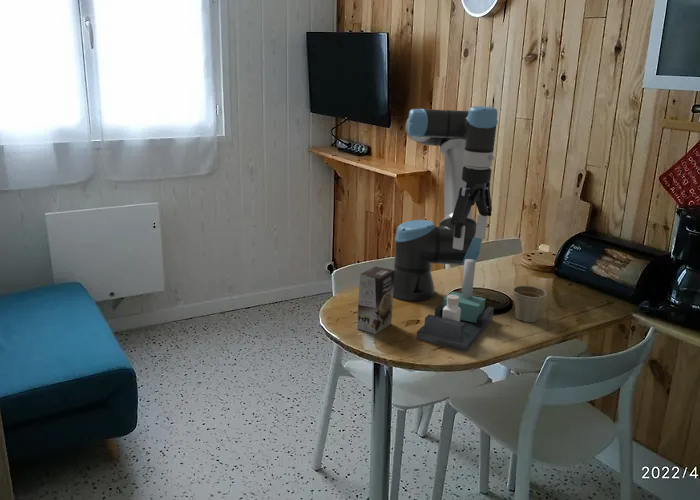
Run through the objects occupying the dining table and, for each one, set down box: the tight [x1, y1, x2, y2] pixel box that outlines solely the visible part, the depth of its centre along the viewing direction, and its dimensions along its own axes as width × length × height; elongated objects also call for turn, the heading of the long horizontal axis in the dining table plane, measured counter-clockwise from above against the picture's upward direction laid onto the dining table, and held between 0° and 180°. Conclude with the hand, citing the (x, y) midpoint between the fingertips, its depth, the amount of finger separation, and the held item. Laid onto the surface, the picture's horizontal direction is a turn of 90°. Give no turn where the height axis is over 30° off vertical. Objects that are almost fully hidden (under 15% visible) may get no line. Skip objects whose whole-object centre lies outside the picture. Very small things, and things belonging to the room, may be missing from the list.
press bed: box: [415, 302, 495, 353], centre depth 169 cm, size 14×24×6 cm, turn 151°
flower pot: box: [512, 285, 547, 323], centre depth 178 cm, size 9×9×9 cm
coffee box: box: [356, 266, 395, 335], centre depth 168 cm, size 9×6×16 cm
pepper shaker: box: [442, 294, 461, 321], centre depth 164 cm, size 4×4×10 cm
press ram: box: [442, 259, 486, 323], centre depth 172 cm, size 10×7×16 cm
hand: (469, 243), depth 168 cm, fingers open, 13 cm apart
